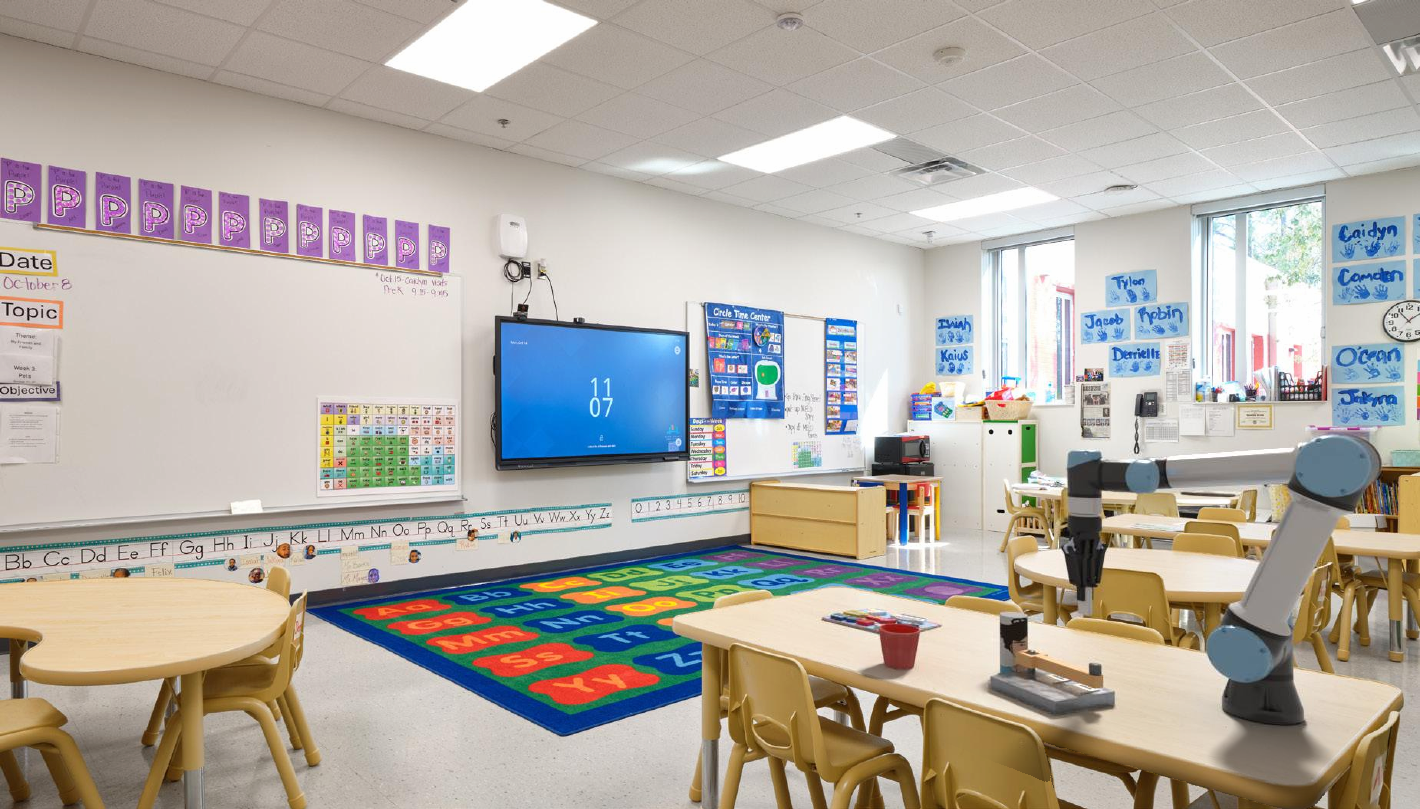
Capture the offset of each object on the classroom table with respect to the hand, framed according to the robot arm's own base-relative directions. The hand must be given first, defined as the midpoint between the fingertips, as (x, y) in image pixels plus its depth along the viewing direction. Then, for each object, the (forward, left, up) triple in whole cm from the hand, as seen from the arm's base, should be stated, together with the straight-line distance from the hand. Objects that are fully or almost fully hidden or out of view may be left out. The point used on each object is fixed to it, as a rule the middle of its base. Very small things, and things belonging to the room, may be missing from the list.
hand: (1085, 614), depth 199 cm
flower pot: (+36, +27, -19) cm, 49 cm away
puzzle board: (+77, +4, -19) cm, 79 cm away
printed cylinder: (+18, +5, -19) cm, 26 cm away
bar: (+1, +7, -14) cm, 15 cm away
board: (+1, +10, -18) cm, 21 cm away
